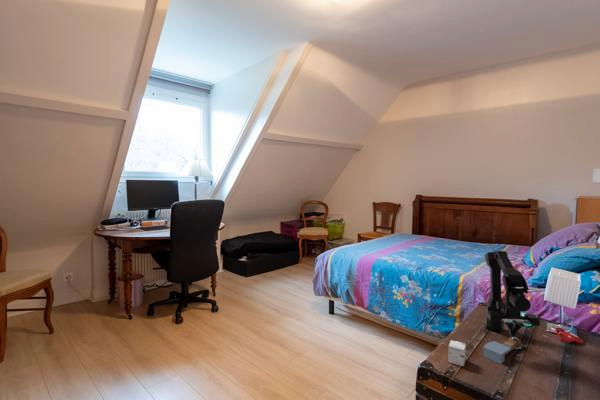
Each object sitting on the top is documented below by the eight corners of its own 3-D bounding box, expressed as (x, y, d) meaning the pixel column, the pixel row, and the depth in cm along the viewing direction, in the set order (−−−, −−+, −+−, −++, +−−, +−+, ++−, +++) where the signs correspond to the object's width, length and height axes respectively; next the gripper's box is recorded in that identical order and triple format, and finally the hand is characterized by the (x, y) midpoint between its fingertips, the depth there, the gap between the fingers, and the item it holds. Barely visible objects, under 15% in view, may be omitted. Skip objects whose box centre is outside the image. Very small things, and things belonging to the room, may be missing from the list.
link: (511, 340, 147) (511, 336, 147) (522, 344, 144) (522, 340, 144) (492, 353, 137) (492, 348, 137) (503, 358, 134) (503, 353, 134)
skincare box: (448, 362, 133) (448, 345, 132) (450, 355, 138) (450, 339, 137) (464, 366, 129) (464, 349, 129) (465, 359, 134) (466, 343, 134)
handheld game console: (538, 318, 172) (538, 316, 172) (530, 328, 161) (530, 325, 161) (516, 312, 179) (516, 310, 179) (508, 321, 169) (508, 319, 169)
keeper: (480, 354, 138) (480, 345, 137) (490, 348, 142) (490, 339, 142) (500, 363, 131) (501, 354, 130) (511, 357, 135) (511, 347, 135)
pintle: (502, 344, 146) (502, 336, 145) (509, 340, 149) (510, 332, 149) (519, 351, 140) (519, 343, 139) (526, 346, 143) (526, 338, 143)
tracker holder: (588, 339, 146) (580, 340, 141) (583, 348, 147) (575, 349, 142) (558, 323, 157) (549, 324, 152) (554, 331, 157) (545, 332, 152)
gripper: (530, 297, 141) (529, 330, 142) (483, 293, 146) (483, 326, 147) (541, 306, 130) (540, 343, 131) (490, 302, 136) (490, 337, 137)
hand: (512, 336), depth 137 cm, fingers closed
